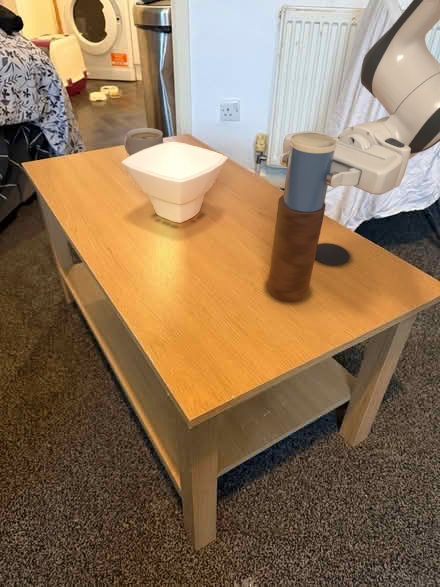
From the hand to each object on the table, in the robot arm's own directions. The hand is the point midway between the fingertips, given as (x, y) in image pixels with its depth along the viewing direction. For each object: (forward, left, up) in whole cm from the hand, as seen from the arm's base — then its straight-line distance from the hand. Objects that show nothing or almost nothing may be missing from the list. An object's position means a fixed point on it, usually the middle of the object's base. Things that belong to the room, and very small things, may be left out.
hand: (305, 170), depth 63 cm
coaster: (-8, -14, -23) cm, 29 cm away
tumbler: (0, 0, -5) cm, 5 cm away
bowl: (+28, -23, -24) cm, 43 cm away
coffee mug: (+46, -50, -24) cm, 72 cm away
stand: (0, 0, -23) cm, 23 cm away
